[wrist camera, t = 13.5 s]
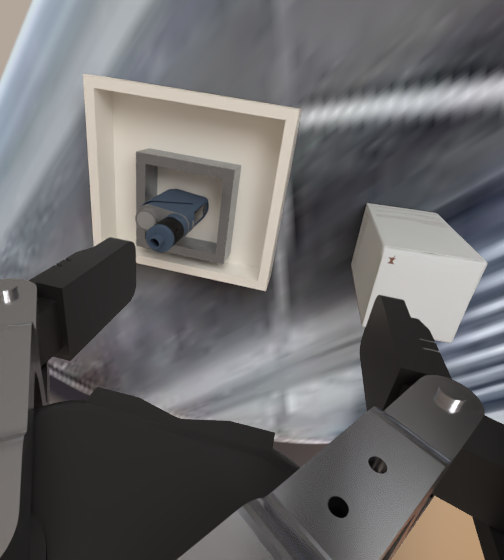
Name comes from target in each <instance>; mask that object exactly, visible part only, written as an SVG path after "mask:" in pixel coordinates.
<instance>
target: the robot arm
mask: <svg viewBox="0 0 504 560" xmlns="http://www.w3.org/2000/svg"><path fill="white" fill-rule="evenodd" d="M135 288H136V247H135V244H134V243H133V242H132V241H127V240H122V239H118V238H113V237H109V238H107V239H106V240H104V241H102V242H101V243H99V244H98V245H96V246H94V247H93V248H89V249H86V250H82V251H79V252H76V253H74V254H73V255H71V256H69V257H68V258H66V260H63V261H61V262H59V263H58V264H57V265H56V266H55V265H54V266H53V267H51V268H49V269H47V270H46V271H44V272H42V273H41V274H39V275H37V276H36V277H34V278H32V279H31V280H29V281H28V280H24V279H1V280H0V560H391V559H392V557H393V556H394V554H395V553H396V551H397V550H398V548H399V547H400V545H401V544H402V543H403V541H404V540H405V538H406V537H407V535H408V534H409V532H410V531H411V529H412V528H413V527H414V525H415V524H416V522H417V521H418V519H419V518H420V516H421V515H422V513H423V512H424V511H425V509H426V508H427V506H428V505H429V503H430V502H431V500H432V499H433V497H434V496H436V497H439V498H440V499H442V500H444V501H446V502H447V503H450V504H451V505H453V506H455V507H456V508H458V509H460V510H462V511H464V512H465V513H467V514H469V515H471V516H473V520H474V524H475V527H476V531H477V534H478V537H479V541H480V544H481V548H482V551H483V554H484V558H485V560H504V424H502V423H499V422H497V421H495V420H493V419H491V418H489V417H487V416H485V415H484V407H483V405H482V403H481V401H480V400H479V399H478V397H477V396H476V395H475V394H474V393H473V392H472V391H470V390H469V389H468V388H466V387H465V386H463V385H462V384H460V383H458V382H456V381H454V380H452V378H451V376H450V374H449V372H448V370H447V367H446V365H445V363H444V361H443V358H442V356H441V354H440V353H439V350H438V347H437V345H436V343H434V342H435V341H434V338H433V336H432V334H431V332H430V330H429V329H428V328H427V327H426V326H425V325H424V324H423V323H422V322H421V321H420V320H419V319H417V318H412V317H411V316H410V314H409V311H408V309H407V306H406V304H405V301H404V300H402V299H397V298H393V297H388V296H383V295H378V296H377V297H376V299H375V302H374V304H373V307H372V310H371V313H370V316H369V319H368V322H367V324H366V327H365V330H364V333H363V336H362V340H361V345H360V360H361V368H362V376H363V384H364V391H365V399H366V407H367V412H366V413H365V414H364V415H362V416H361V417H360V418H359V419H358V420H357V421H355V422H354V423H353V424H352V425H351V426H349V427H348V428H347V429H346V430H345V431H344V432H342V433H341V434H340V435H339V436H338V437H336V438H335V439H334V440H333V441H332V442H331V443H329V444H328V445H327V446H326V447H325V448H324V449H322V450H321V451H320V452H319V453H318V454H316V455H315V456H314V457H313V458H312V459H310V460H309V461H308V462H307V463H306V464H305V465H304V466H302V467H299V466H298V465H297V464H296V463H295V462H294V461H292V460H291V459H290V458H288V457H287V456H285V455H284V454H282V453H281V452H279V451H277V450H275V449H274V448H273V442H274V435H275V433H274V432H270V431H266V430H262V429H258V428H255V427H251V426H247V425H243V424H239V423H235V422H231V421H216V420H192V419H180V418H177V417H175V416H173V415H171V414H169V413H167V412H165V411H163V410H161V409H159V408H158V407H156V406H154V405H152V404H150V403H148V402H146V401H144V400H143V399H141V398H138V397H135V396H131V395H127V394H123V393H119V392H115V391H111V390H107V389H104V388H100V387H97V388H96V389H95V390H94V392H93V393H92V394H91V395H90V396H89V398H88V399H87V400H70V401H63V402H57V403H53V404H50V399H49V398H50V397H49V367H48V360H49V359H50V358H51V357H57V358H61V359H65V360H69V361H71V360H72V359H73V358H74V357H75V356H76V355H77V354H78V353H79V352H80V351H81V350H82V349H83V348H84V347H85V346H86V345H87V344H88V343H89V342H90V341H91V340H92V339H93V338H94V337H95V336H96V335H97V334H98V333H99V332H100V331H101V330H102V329H103V328H104V327H105V326H106V325H107V324H108V323H109V322H110V321H111V320H112V319H113V318H114V317H115V316H116V315H117V314H118V313H119V312H120V311H121V310H122V309H123V308H124V307H125V306H126V305H127V304H128V303H129V302H130V301H131V299H132V297H133V295H134V292H135Z"/></svg>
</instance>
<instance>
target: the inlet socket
mask: <svg viewBox="0 0 504 560" xmlns="http://www.w3.org/2000/svg"><path fill="white" fill-rule="evenodd" d="M158 166H159V167H165V168H170V169H175V170H180V171H186V172H191V173H196V174H202V175H207V176H212V177H218V178H223V188H222V198H221V207H220V217H219V226H218V236H217V243H214V242H209V241H204V240H199V239H194V238H190V237H183V238H181V239H180V240H179V241H178V242H177V241H176V242H177V243H176V244H175V245H174V246H173V247H172V248H171V249H169V250H168V251H167V252H168V253H173V254H177V255H182V256H187V257H191V258H196V259H201V260H205V261H210V262H215V263H219V264H224V263H225V261H226V260H227V258H228V257H229V255H230V252H231V244H232V236H233V228H234V220H235V212H236V204H237V196H238V189H239V181H240V173H241V165H238V164H232V163H227V162H221V161H216V160H210V159H205V158H200V157H194V156H189V155H183V154H178V153H172V152H167V151H161V150H156V149H151V148H148V149H144V150H140V151H136V214H137V213H138V212H139V209H140V208H141V206H142V205H143V203H145V202H146V201H148V200H150V199H152V198H154V197H155V196H157V182H158ZM146 233H147V231H144V230H142V229H140V228H139V227H138V225H137V224H136V246H140V247H145V248H149V249H151V248H150V247H149V245H148V244H147V241H146Z"/></svg>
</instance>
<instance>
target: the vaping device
mask: <svg viewBox="0 0 504 560" xmlns="http://www.w3.org/2000/svg"><path fill="white" fill-rule="evenodd" d="M208 209H209V203H208V199H207V198H206V197H203V196H200V195H196V194H193V193H190V192H186V191H183V190H180V189H169V190H166V191H165V192H163V193H161V194H159V195H157V196H155V197H154V198H152V199H150V200H148V201H146V202H145V203H143V205H142V206H141V208H140V209H139V212H138V213H137V214H136V216H135V221H136V224H137V225H138V227H139V228H140V229H142V230H144V231H147V233H146V241H147V244H148V245H149V247H150V248H151V249H152V250H154V251H156V252H159V253H163V252H167V251H168V250H169V249H171V248H172V247H173V246H174V245H175V244H176V243H177V242H178V241H179V240H180V239H181V238H183V237H185V236H186V235H187V234H188V233H189V232H190V231H191V230H192V229H193V228H194V227H195V226H196V225H197V224H198V223H199V222H200V221H201V220H202V219H203V218H204V217H205V215H206V214H207V212H208ZM176 241H177V242H176Z"/></svg>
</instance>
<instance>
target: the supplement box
mask: <svg viewBox="0 0 504 560" xmlns="http://www.w3.org/2000/svg"><path fill="white" fill-rule="evenodd" d="M486 266H487V262H486V261H485V260H484V259H483V258H482V257H481V256H480V255H479V254H478V253H477V252H476V251H475V250H474V249H473V248H472V247H471V246H470V245H469V244H468V243H467V242H466V241H465V240H464V239H463V238H462V237H461V236H460V235H459V234H457V233H456V232H455V231H454V230H453V229H452V228H451V227H450V226H449V225H448V224H447V223H446V222H445V221H444V220H443V219H442V218H441V217H440V216H439V215H438V214H437V213H432V212H426V211H419V210H412V209H405V208H398V207H391V206H384V205H377V204H370V203H367V204H366V208H365V212H364V216H363V220H362V224H361V228H360V232H359V236H358V239H357V243H356V247H355V251H354V255H353V259H352V263H351V268H352V273H353V279H354V284H355V290H356V296H357V302H358V308H359V313H360V319H361V324H362V327H366V324H367V322H368V319H369V316H370V313H371V310H372V307H373V304H374V302H375V299H376V297H377V296H378V295H383V296H388V297H393V298H397V299H402V300H404V301H405V304H406V306H407V309H408V311H409V314H410V316H411V317H412V318H417V319H419V320H420V321H421V322H422V323H423V324H424V325H425V326H426V327H427V328H428V329H429V330H430V332H431V334H432V336H433V338H434V340H437V341H443V342H448V343H451V342H452V340H453V338H454V336H455V333H456V331H457V329H458V327H459V324H460V322H461V320H462V317H463V315H464V313H465V310H466V308H467V306H468V304H469V302H470V300H471V298H472V295H473V293H474V291H475V289H476V287H477V285H478V283H479V281H480V278H481V276H482V274H483V272H484V270H485V268H486Z"/></svg>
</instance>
